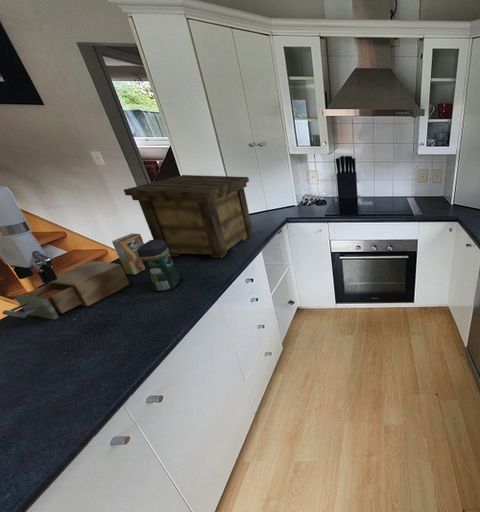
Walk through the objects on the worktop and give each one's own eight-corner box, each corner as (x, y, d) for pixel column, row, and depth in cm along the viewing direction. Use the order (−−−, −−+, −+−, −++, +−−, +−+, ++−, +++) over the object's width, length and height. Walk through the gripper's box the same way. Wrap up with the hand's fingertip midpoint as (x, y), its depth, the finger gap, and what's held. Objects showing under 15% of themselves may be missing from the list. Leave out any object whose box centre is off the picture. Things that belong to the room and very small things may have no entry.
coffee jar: (160, 280, 111) (144, 238, 103) (183, 278, 113) (168, 236, 105) (149, 293, 103) (130, 249, 94) (173, 290, 105) (156, 247, 96)
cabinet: (87, 306, 95) (75, 284, 91) (58, 301, 97) (45, 279, 93) (129, 284, 108) (120, 264, 104) (103, 280, 110) (93, 260, 106)
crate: (225, 262, 126) (206, 192, 111) (151, 260, 126) (123, 189, 112) (259, 234, 157) (248, 177, 142) (200, 232, 158) (183, 175, 143)
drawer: (34, 329, 83) (21, 310, 80) (5, 324, 84) (-9, 305, 81) (101, 295, 99) (92, 278, 96) (75, 292, 101) (66, 275, 98)
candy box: (144, 264, 122) (131, 233, 116) (153, 265, 122) (140, 233, 115) (125, 274, 114) (110, 241, 108) (135, 275, 114) (120, 241, 107)
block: (55, 309, 90) (48, 298, 88) (44, 307, 90) (37, 296, 88) (72, 301, 94) (65, 290, 92) (61, 300, 94) (54, 289, 92)
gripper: (-33, 230, 78) (0, 281, 85) (15, 236, 75) (45, 289, 83) (4, 222, 84) (32, 270, 92) (49, 228, 82) (74, 277, 89)
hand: (38, 279), depth 87 cm, fingers open, 9 cm apart
